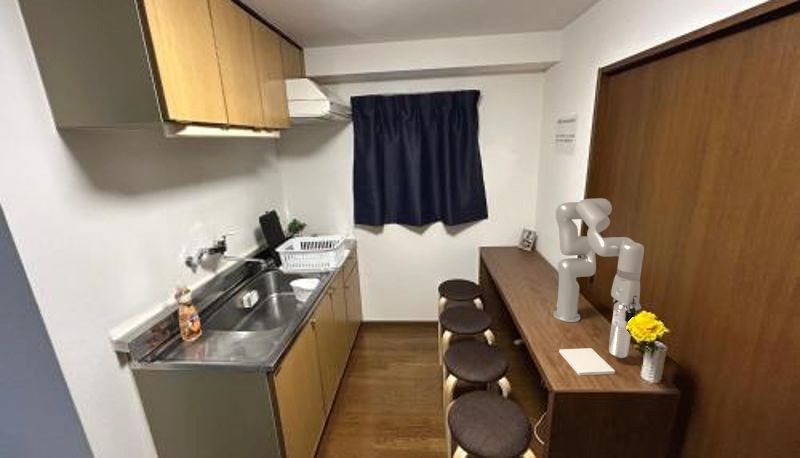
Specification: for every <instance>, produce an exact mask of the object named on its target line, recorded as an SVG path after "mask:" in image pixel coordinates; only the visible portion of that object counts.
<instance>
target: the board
mask: <svg viewBox="0 0 800 458" xmlns="http://www.w3.org/2000/svg"><path fill="white" fill-rule="evenodd" d="M558 352H559V354H560V355H561V356H562V358H564V360H565V361H566V362H567V363H568V365H570V367H571V368H572V369H573V370H574V372H575V373H576V374H577V375H578V376H597V375H615V374H616V370H615V369H614V368H613V367H612V366H610V365H609V364H608V362H607V361H606V360H605V359H603V357H601V356H600V355H599V354H598V353H597V352H596V351H595V350H594V349H593V348H590V347H589V348H588V347H587V348H585V347H584V348H564V349H563V348H562V349H560V348H559V351H558Z"/></svg>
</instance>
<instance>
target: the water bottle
mask: <svg viewBox="0 0 800 458" xmlns="http://www.w3.org/2000/svg"><path fill="white" fill-rule="evenodd" d="M632 308H633V307H632V306H630V309H632ZM612 312H613V313H612V320H611V325H610V326H611V327H610V334H609V342H608V352H609V354H610V355H612V356H614V358H619V359H625V358H627V357H628V356H629V351H630V343H631V337H632V336H631V335H632V334H631V335H630V334H629V332H628V331H627V329H626V326H627V323H628V322H626V321H625V316H626V312H628V311H627V306H625V305H623V304H622V303H620V302H619V301H618V302H616V303H615V304H614V311H613V310H612Z"/></svg>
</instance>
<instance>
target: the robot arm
mask: <svg viewBox="0 0 800 458" xmlns="http://www.w3.org/2000/svg"><path fill="white" fill-rule="evenodd" d="M612 211H613V206H612V204H611V201H609V200H608V199H606V198H602V197H601V198H599V197H598V198H585V199H584V198H583V199H582V200H580V201H572V202H571V201H569V202H563V203H560V204H559V205H557V208H556V209H555V220H556V223H557V225H558V233H559V234H558V235H559V248H560V253H561V254H562V255H564V256H568V258H564V259H561V260H559V262H558V263H557V271H558V290H557V291H558V292H557V303H556V304H555V307H557V308H556V310H554V311H553V315H552V316H553V317H554V318H555V319H557V320H559V321H562V322H567V323H576V322H579V321H581V315H580V314H579V313H578V306H579V297H580V296H579V295H580V285H579V282H578V281H577V279H576V278H581V277H583V278H584V277H585V278H586V277H592V276H593V275H595V274H596V271H597V262H596V261H597V259H596V255H598V256H599V257H618V261H617V269H616V271H617V272H616V274H615V276H614V278H613V281H612V287H611V289H610V295H611V297H612V312H613V311H614V304H615V303H616V302H618V301H619V302H620V303H622V304H623V305H625V306H627V311H628V312H626V316H625V321H626V322H628V321H629V320H630V319H631V318H632V317H634V318H635V317H636V316H635V315H636V314H637V312H638V311H640V310H641V309H642V305H641V303H640V297H641V296H640V295H641V281H640V280H641V274H642V267H643V260H644V252H645V247H644V245H643V244H641V243H639V242H635V241H634V240H633V239H632V238H630V237H627V236H621V237H620V236H618V237H616V236H612V237H602V235H601V234H600V233H601V232H603V231H604V230H606V229H607V228H608V227H609V226H610V224H611V219H610V218H609V215H610V214H611V213H612ZM573 220H582V221H583V222H584V223H585V225H586V226H587V227H588V230H587V232H586V236H585V235H583V236H582V235H581V236H579V228H578V226H577V224H576V222H574V221H573ZM569 256H581V257H570V258H569ZM630 306H632V307H633V308H632V309H630Z"/></svg>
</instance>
